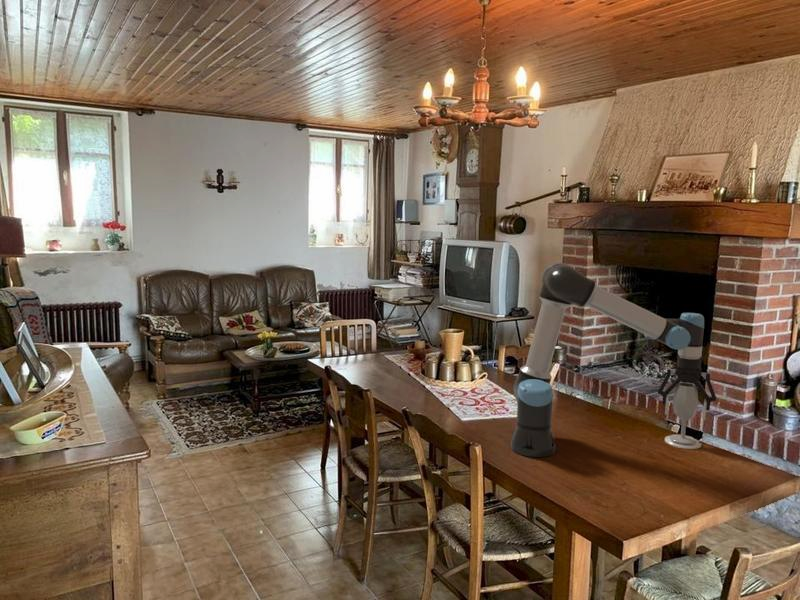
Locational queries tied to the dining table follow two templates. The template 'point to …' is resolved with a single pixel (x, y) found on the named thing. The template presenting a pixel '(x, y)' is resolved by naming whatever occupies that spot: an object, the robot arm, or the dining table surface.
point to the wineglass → (684, 409)
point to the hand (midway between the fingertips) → (684, 416)
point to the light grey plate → (683, 446)
